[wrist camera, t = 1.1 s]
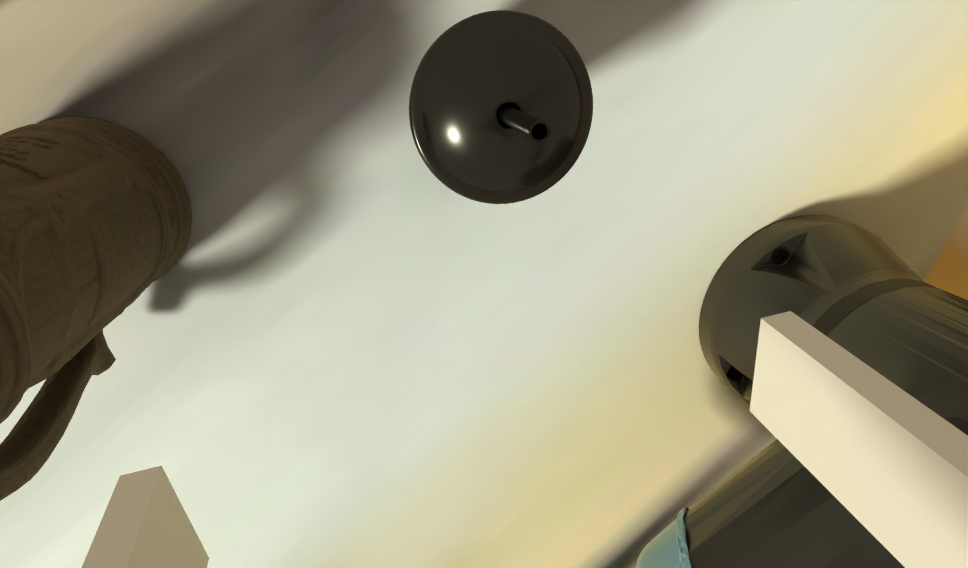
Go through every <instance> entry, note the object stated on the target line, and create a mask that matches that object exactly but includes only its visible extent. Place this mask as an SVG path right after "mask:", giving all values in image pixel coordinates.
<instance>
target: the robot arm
mask: <svg viewBox="0 0 968 568" xmlns="http://www.w3.org/2000/svg"><path fill="white" fill-rule="evenodd" d="M699 338H700V344H701V348H702V351H703V354H704V357H705V359H706V361H707V363H708V364H709V366H710V367H711V369H712V370H713V371H714V373H715V374H716V375H717V376H718V377H719V378H720V379H721V380H722V381H723V382H724V383H725V384H726V385H727V386H728V387H729V388H731V389H732V390H733V391H734V392H735V393H736V394H738V395H739V396H741V397H743V398H744V399H746V400H748V401H750V402H751V403H750V412H751V413H752V414H753V415H754V416H755V417H756V418H757V419H758V420H759V421H760V422H761V423H762V424H763V425H764V426H765V427H766V428H767V429H768V430H769V431H770V432H771V433H772V434H773V435H774V436H775V437H776V438H777V440H775V441H774V442H773V443H771V444H770V445H769V446H768V447H766V448H765V449H764V450H763V451H761V452H760V453H759V454H757V455H756V456H755V457H754V458H752V459H751V460H750V461H748V462H747V463H746V464H745V465H743V466H742V467H741V468H740V469H738V470H737V471H736V472H734V473H733V474H732V475H731V476H729V477H728V478H727V479H726V480H724V481H723V482H722V483H720V484H719V485H718V486H717V487H715V488H714V489H713V490H712V491H710V492H709V493H708V494H706V495H705V496H704V497H703V498H701V499H700V500H699V501H697V502H696V503H695V504H694V505H692V506H691V507H690V508H689V507H687V508H683V509H682V510H681V511H679V513H678V516H677V518H676V519H675V520H674V521H673V522H672V523H671V524H670V525H669V526H667V527H666V528H665V529H664V530H663V531H662V532H661V533H659V534H658V535H657V536H656V537H655V538H654V539H653V540H652V541H650V542H649V543H648V544H647V545H646V546H645V547H644V549H643V550H642V552H641V554H640V555H639V558H638V561H637V565H636V568H968V301H967V300H965V299H962V298H960V297H958V296H955V295H953V294H950V293H948V292H946V291H943V290H941V289H938V288H936V287H934V286H931V285H929V284H927V283H925V282H923V281H922V280H921V279H920V278H919V277H918V276H917V275H916V274H915V273H914V272H913V271H912V270H911V269H910V268H909V267H908V266H907V265H906V264H905V263H904V262H903V261H902V260H901V259H900V258H899V257H898V256H897V255H896V254H895V253H894V252H893V251H892V250H891V249H890V248H889V247H888V246H887V245H886V243H885V242H883V241H882V240H881V239H880V238H879V237H877V236H876V235H874V234H873V233H871V232H869V231H868V230H866V229H864V228H861V227H859V226H857V225H854V224H851V223H848V222H846V221H843V220H840V219H837V218H834V217H829V216H822V215H807V216H799V217H794V218H790V219H786V220H783V221H780V222H778V223H775V224H773V225H771V226H769V227H767V228H765V229H763V230H761V231H759V232H758V233H756V234H755V235H753V236H752V237H750V238H749V239H748V240H746V241H745V242H744V243H743V244H741V245H740V246H739V247H738V248H737V249H736V250H735V251H734V252H733V253H732V254H731V255H730V256H729V257H728V258H727V259H726V261H725V262H724V263H723V264H722V266H721V267H720V269H719V270H718V271H717V273H716V275H715V276H714V278H713V280H712V282H711V283H710V285H709V288H708V290H707V292H706V295H705V297H704V301H703V304H702V308H701V312H700V319H699ZM208 559H209V557H208V555H207V553H206V551H205V549H204V548H203V546H202V544H201V542H200V540H199V538H198V536H197V534H196V532H195V530H194V528H193V526H192V524H191V522H190V520H189V518H188V516H187V514H186V513H185V511H184V509H183V507H182V505H181V503H180V501H179V499H178V497H177V495H176V493H175V491H174V489H173V487H172V485H171V483H170V481H169V479H168V478H167V476H166V474H165V472H164V470H163V468H162V466H158V467H154V468H150V469H146V470H142V471H138V472H134V473H130V474H126V475H122V476H120V477H119V480H118V482H117V485H116V487H115V489H114V492H113V494H112V496H111V499H110V501H109V504H108V506H107V508H106V511H105V513H104V516H103V518H102V520H101V523H100V525H99V528H98V530H97V532H96V535H95V537H94V540H93V542H92V544H91V547H90V549H89V552H88V554H87V556H86V559H85V561H84V564H83V566H82V568H207V564H208Z"/></svg>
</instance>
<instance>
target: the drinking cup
mask: <svg viewBox="0 0 968 568" xmlns="http://www.w3.org/2000/svg"><path fill="white" fill-rule="evenodd" d="M592 114H593V95H592V88H591V83H590V79H589V75H588V72H587V69H586V67H585V65H584V62H583V60H582V58H581V57H580V55H579V53H578V51H577V50H576V49H575V47H574V46H573V44H572V43H571V42H570V41H569V40H568V39H567V37H565V36H564V35H563V34H562V33H561V32H560V31H559V30H558V29H556V28H555V27H554V26H552V25H551V24H549V23H548V22H546V21H544V20H542V19H540V18H538V17H536V16H533V15H530V14H527V13H522V12H518V11H509V10H497V11H488V12H484V13H479V14H476V15H473V16H470V17H468V18H466V19H464V20H462V21H460V22H458V23H456V24H455V25H453V26H452V27H450V28H449V29H448V30H446V31H445V32H444V33H443V34H442V35H441V36H439V37H438V38H437V40H436V41H435V42H434V43H433V44H432V45H431V46H430V48H429V49H428V51H427V52H426V53H425V55H424V57H423V58H422V60H421V62H420V64H419V66H418V68H417V71H416V73H415V76H414V79H413V83H412V87H411V92H410V99H409V119H410V126H411V131H412V135H413V139H414V142H415V145H416V147H417V149H418V152H419V154H420V156H421V157H422V159H423V161H424V162H425V164H426V165H427V167H428V168H429V170H430V171H431V172H432V173H433V174H434V175H435V177H436V178H437V179H439V180H440V181H441V182H442V183H443V184H444V185H446V186H447V187H448V188H449V189H451V190H453V191H454V192H456V193H458V194H460V195H462V196H464V197H466V198H469V199H471V200H475V201H478V202H483V203H490V204H508V203H515V202H519V201H523V200H526V199H529V198H532V197H534V196H537V195H539V194H541V193H542V192H544V191H546V190H548V189H549V188H550V187H552V186H553V185H555V184H556V183H557V182H558V181H559V180H560V179H562V178H563V177H564V176H565V175H566V173H567V172H568V171H569V170H570V169H571V168H572V166H573V165H574V163H575V162H576V161H577V159H578V157H579V155H580V154H581V152H582V150H583V148H584V146H585V143H586V141H587V138H588V135H589V131H590V127H591V122H592Z"/></svg>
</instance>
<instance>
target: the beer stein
mask: <svg viewBox="0 0 968 568" xmlns="http://www.w3.org/2000/svg"><path fill="white" fill-rule="evenodd" d="M191 216H192V215H191V210H190V204H189V199H188V196H187V193H186V190H185V187H184V185H183V183H182V181H181V179H180V177H179V176H178V174H177V172H176V170H175V169H174V167H173V166H172V165H171V164H170V162H169V161H168V160H167V159H166V158H165V156H164V155H163V154H162V153H161V152H159V151H158V150H157V149H156V148H155V147H154V146H152V145H151V144H150V143H149V142H148V141H146V140H145V139H144V138H142V137H140V136H138V135H137V134H135V133H133V132H132V131H130V130H128V129H126V128H124V127H121V126H119V125H116V124H113V123H110V122H106V121H103V120H100V119H92V118H84V117H76V116H74V117H66V118H58V119H52V120H46V121H43V122H41V123H38V124H31V125H27V126H23V127H20V128H17V129H14V130H11V131H9V132H6V133H4V134H2V135H0V424H1V423H2V422H3V421H4V420H5V419H6V418H8V417H9V415H10V414H11V413H12V411H13V410H14V409H15V407H16V406H17V405H18V403H19V402H20V401H21V398H22V396H23V394H24V393H25V392H26V390H27V389H28V388H30V387H32V386H34V385H35V384H37V383H39V382H41V381H43V380H45V379H46V378H47V379H46V381H45V382H44V384H43V386H42V388H41V389H40V391H39V392H38V394H37V395H36V397H35V398H34V400H33V401H32V402H31V404H30V405H29V407H28V408H27V410H26V411H25V412H24V414H23V415H22V417H21V418H20V419H19V421H18V422H17V424H16V425H15V426H14V428H13V429H12V431H11V432H10V434H9V435H8V436H7V437H6V438H5V440H4V441H3V442H2V443H1V444H0V501H1V500H2V499H4V498H5V497H7V496H8V495H10V494H11V493H13V492H15V491H16V490H18V489H19V488H20V487H22V486H23V485H24V484H25V483H27V482H28V481H29V480H31V478H32V477H33V476H34V475H35V474H36V473H37V472H38V471H39V470H40V469H41V467H42V466H43V465H44V463H45V462H46V461H47V459H48V458H49V456H50V455H51V453H52V452H53V450H54V449H55V447H56V446H57V444H58V442H59V441H60V439H61V438H62V436H63V434H64V432H65V430H66V428H67V426H68V424H69V422H70V420H71V418H72V416H73V414H74V412H75V410H76V407H77V405H78V403H79V400H80V398H81V395H82V393H83V391H84V389H85V387H86V385H87V383H88V381H89V379H90V377H91V376H92V375H99V374H101V373H103V372H104V371H106V370H107V369H109V368H110V366H111V365H112V364H113V363H114V361H115V360H116V359H115V357H114V356H113V354H112V353H111V351H110V349H109V348H108V346H107V343H106V340H105V338H104V335H103V328H104V327H105V326H106V325H108V324H109V323H110V322H111V321H112V320H114V319H115V318H116V317H117V316H118V315H120V314H122V312H123V311H124V309H125V308H126V307H128V306H129V305H130V304H132V303H133V302H134V301H135V300H136V299H137V298H138V297H139V296H140V294H141V293H142V292H143V291H144V290H145V289H146V288H147V287H149V285H150V284H151V283H152V282H153V281H155V280H157V279H159V278H160V277H161V276H163V275H164V274H165V273H166V272H167V271H168V270H169V269H170V268H171V267H172V266H173V265H174V264H175V263H176V262H177V260H178V259H179V258H180V256H181V255H182V253H183V251H184V249H185V247H186V245H187V242H188V239H189V234H190V229H191Z"/></svg>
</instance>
